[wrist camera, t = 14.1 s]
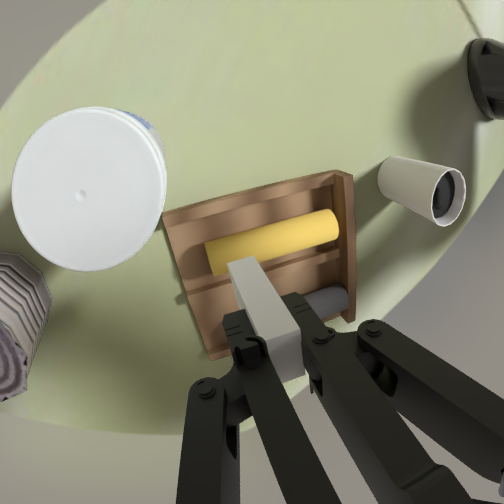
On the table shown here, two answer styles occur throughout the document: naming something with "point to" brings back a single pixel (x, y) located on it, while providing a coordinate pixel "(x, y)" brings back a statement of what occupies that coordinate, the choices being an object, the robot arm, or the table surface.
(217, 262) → the ochre rod
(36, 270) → the can
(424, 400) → the robot arm
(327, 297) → the charcoal rod
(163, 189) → the supplement tub
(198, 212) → the walnut slot rack
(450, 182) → the white cup
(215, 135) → the table surface
